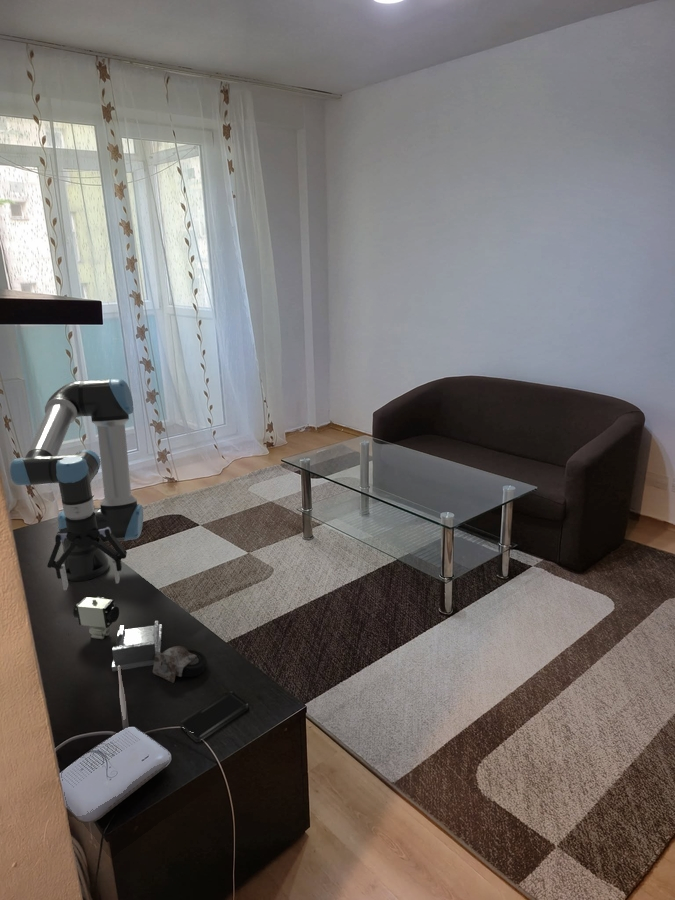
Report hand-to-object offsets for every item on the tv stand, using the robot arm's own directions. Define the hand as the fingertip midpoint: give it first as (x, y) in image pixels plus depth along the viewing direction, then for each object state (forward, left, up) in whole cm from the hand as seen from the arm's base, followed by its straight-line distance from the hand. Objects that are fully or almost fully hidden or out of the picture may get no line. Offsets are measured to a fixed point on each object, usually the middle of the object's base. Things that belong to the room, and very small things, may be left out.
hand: (92, 584), depth 171 cm
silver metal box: (+9, +11, -17) cm, 22 cm away
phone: (+40, +31, -17) cm, 53 cm away
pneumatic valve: (0, 0, -17) cm, 17 cm away
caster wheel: (+21, +23, -17) cm, 36 cm away
